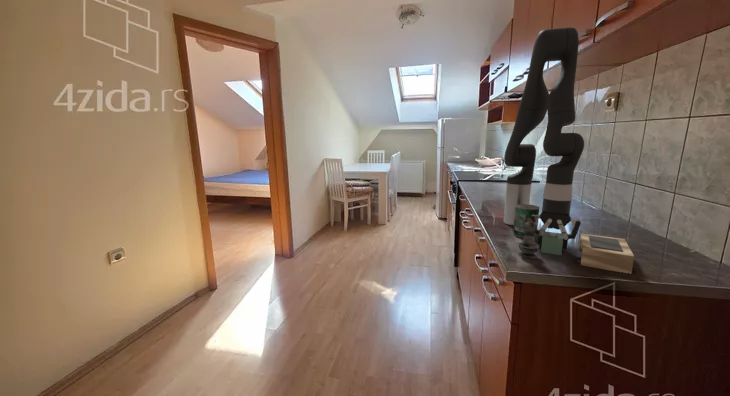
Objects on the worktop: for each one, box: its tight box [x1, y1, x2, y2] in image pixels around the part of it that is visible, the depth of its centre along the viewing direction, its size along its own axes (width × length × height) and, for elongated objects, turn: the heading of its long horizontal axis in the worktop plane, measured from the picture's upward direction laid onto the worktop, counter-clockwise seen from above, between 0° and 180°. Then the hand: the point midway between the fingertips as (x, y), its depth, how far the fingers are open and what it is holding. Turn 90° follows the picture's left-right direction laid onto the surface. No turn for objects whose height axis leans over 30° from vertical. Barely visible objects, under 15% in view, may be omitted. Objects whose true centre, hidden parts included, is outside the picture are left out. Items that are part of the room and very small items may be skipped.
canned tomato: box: [512, 204, 540, 239], centre depth 111 cm, size 8×8×11 cm
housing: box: [540, 231, 563, 256], centre depth 97 cm, size 9×6×5 cm, turn 147°
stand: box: [578, 233, 635, 275], centre depth 89 cm, size 16×11×5 cm
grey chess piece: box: [517, 219, 540, 260], centre depth 92 cm, size 6×6×12 cm
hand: (551, 247), depth 98 cm, fingers closed on housing, 5 cm apart
